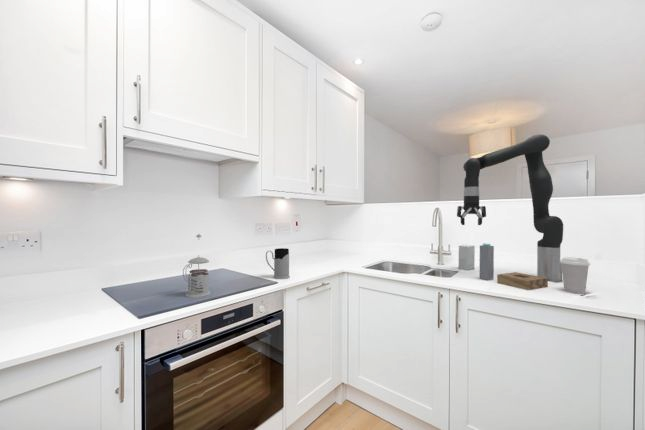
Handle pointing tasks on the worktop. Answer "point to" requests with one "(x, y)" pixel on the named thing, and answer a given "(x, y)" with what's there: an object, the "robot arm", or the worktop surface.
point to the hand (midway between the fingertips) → (471, 225)
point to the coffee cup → (575, 274)
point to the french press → (197, 278)
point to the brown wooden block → (522, 280)
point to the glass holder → (280, 263)
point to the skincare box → (466, 257)
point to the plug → (486, 262)
